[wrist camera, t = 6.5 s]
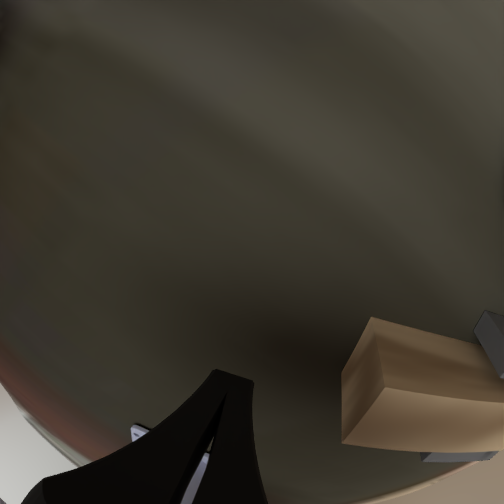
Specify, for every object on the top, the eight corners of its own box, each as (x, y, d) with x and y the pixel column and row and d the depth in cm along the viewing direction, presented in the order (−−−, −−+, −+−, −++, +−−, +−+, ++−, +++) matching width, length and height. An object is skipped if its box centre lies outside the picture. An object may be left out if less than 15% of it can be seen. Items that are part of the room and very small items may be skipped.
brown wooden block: (481, 395, 13) (502, 450, 9) (341, 370, 14) (341, 443, 10) (514, 351, 12) (545, 404, 8) (370, 314, 13) (385, 386, 9)
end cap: (476, 419, 14) (489, 460, 10) (413, 414, 14) (421, 461, 11) (543, 329, 11) (571, 366, 7) (485, 310, 11) (516, 355, 8)
